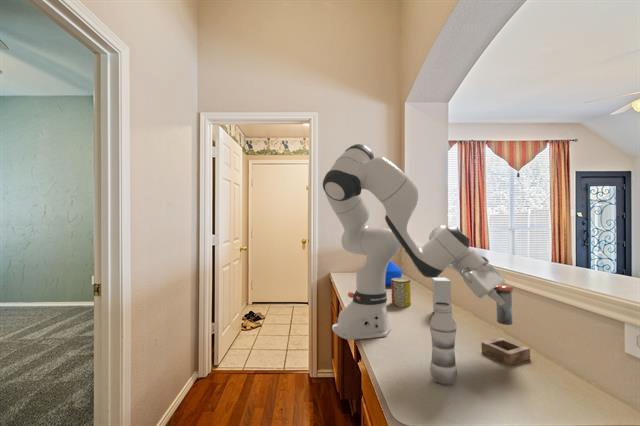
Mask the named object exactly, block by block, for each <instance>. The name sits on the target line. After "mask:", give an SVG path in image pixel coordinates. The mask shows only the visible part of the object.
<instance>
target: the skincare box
mask: <svg viewBox="0 0 640 426" xmlns="http://www.w3.org/2000/svg"><path fill="white" fill-rule="evenodd" d="M451 286H452V285H451V280H450V279H449V278H447V277H434V278H431V288H432V289H431V292H432V311H433V313H434V314H435V313H436V311H435V310H434V308H435V303H436V302H445V303H448V304H450V311H451V312H450V315H451V316H452V317H453V309H452V289H451V288H452V287H451Z"/></svg>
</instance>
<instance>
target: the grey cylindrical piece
mask: <svg viewBox="0 0 640 426" xmlns="http://www.w3.org/2000/svg"><path fill="white" fill-rule="evenodd" d="M495 290H496V293H497V294H498V295H499V296H500V297H503V298H504V300H506V303H505V304H503V305H502V306H501V305H499V304H498V303H497V302H496V301H495V303H496V322H497V323H498V324H500V325H501V324H502V325H505V326H506V325H507V326H510V325H511V326H512V325H513V300H512V299H513V296H512V295H513V294H512V292H514V287H513V286H511V285H507V284H501V285H498V286H496V288H495Z"/></svg>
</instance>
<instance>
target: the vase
mask: <svg viewBox="0 0 640 426" xmlns="http://www.w3.org/2000/svg"><path fill="white" fill-rule="evenodd" d="M402 276H403V272H402V269H401V268H400V267H399V266H398V265H396V264H395V263H394V262H393V261H391V260H390V261H389V263H388V266H387V268H386V274H385V287H392V286H391V279H393V278H402Z"/></svg>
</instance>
